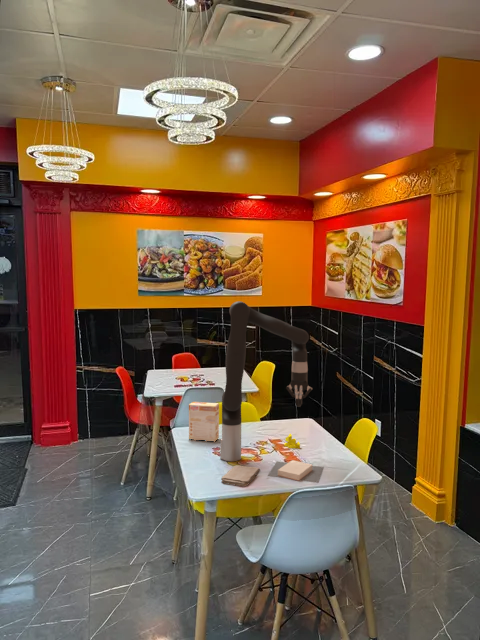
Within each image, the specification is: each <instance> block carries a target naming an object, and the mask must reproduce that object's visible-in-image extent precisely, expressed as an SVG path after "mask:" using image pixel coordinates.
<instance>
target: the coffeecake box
mask: <svg viewBox="0 0 480 640" xmlns="http://www.w3.org/2000/svg"><path fill="white" fill-rule="evenodd" d="M219 418H220V403H218V402H203V401H202V402H201V401H192V402H191V403H189V404H188V440H189V439H194V440H193V441H196V440H206V441H205V442H207V441H214V442H213V443H216V442H217V441H218V440H219V439H220V436H219V435H220V434H219V433H220V431H219V429H220V428H219V427H220V426H219V425H220V424H219V423H220V419H219ZM218 438H219V439H218ZM217 439H218V440H217ZM216 440H217V441H216ZM215 441H216V442H215Z"/></svg>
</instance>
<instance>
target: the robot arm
mask: <svg viewBox="0 0 480 640" xmlns="http://www.w3.org/2000/svg"><path fill="white" fill-rule="evenodd" d="M228 311H229V315H230V331H229V332H230V333H229V336H228V340H227V345H226V352H225V378H226V381H225V389H224V392H223V393H222V395H221V438H220V457H219V458H220V460H224V461H226V462H236V461H237V462H238V461H240V460H241V459H242V403H243V397H242V393H243V391H242V389H243V388H242V387H243V386H242V385H243V382H242V381H243V379H244V378H243V377H244V372H245V371H244V370H245V365H246V355H247V328H248V323H250V324H252V325H254V326H258V327H259V328H262V329H263V330H265V331H267V332H269V333H271V334H274V335H277V336H279V337H282V338H284V339H288V340H289V341H291V348H292V354H291V355H292V359H291V361H292V362H291V381H290V383H289V385H287V386H286V387H285V390H287V392H288V393H289V394H290V396H291V397H292V398H295V406H296V407H299V408H301V406H302V405H303V399H306V397H308V395H309V394H310V392H312V390H313V387H311V386H309V383H308V371H309V368H308V366H309V365H308V350H307V348H306V347H307V345H306V344H307V342H308V341H309V339H310V335H309V333H308V332H307V331H306V330H304V329H302V328H299V327H296V326H293V325H291V324H290V323H288V322H285V321H283V320H281V319H278V318H277V317H276V318H275V317H273V316H270V315H267V314H264V313H262V312H260V311H257V310H256V309H254V308H252V307H250V306H249V305H248V304H247V303H245V302H244V301H234V302H233V303H232V304H231V305H230V307H229V310H228ZM305 390H306V392H305V393H304V391H305Z"/></svg>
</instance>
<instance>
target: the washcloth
mask: <svg viewBox="0 0 480 640" xmlns="http://www.w3.org/2000/svg"><path fill="white" fill-rule="evenodd" d="M259 471H260V467H255V466H245V465H238V464H236V465H234V466H233V467H232V468H230V470H228V471H227V472H226V473H225V474H224V475H223V476H221V482H224V484H225V483H229V484H228V485H230V484H235V485H234V486H236V485H240V486H239V487H242V486H245V487H246V485H247V484H248V483H249V482H250V483H251V482H252V481H254V479H255V478H256V477H257V473H258V472H259ZM251 480H252V481H251ZM250 483H249V484H250ZM249 484H248V485H249ZM248 485H247V486H248Z"/></svg>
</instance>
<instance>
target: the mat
mask: <svg viewBox="0 0 480 640" xmlns="http://www.w3.org/2000/svg"><path fill="white" fill-rule="evenodd" d="M287 463H288V462H284V461H276V462H275V463H274V465H273V467H272V468H271V470H270V471H269V473H268V474H267V477H273V478H280V479H285V480H286V479H288V480H290V479H289V478H285V477H281V476H278V469H280V468H281V467H283V466H284V465H286V464H287ZM324 469H325V467H324V466H319V465H318V466H316V465H312V471H311V472H309V473H308V474H307V475H306V476H304V477H303V478H302V479H300V480H299V481H302V482H311V483H317V484H318V483H319V482H320V480H321V477H322V474H323V471H324Z"/></svg>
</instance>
